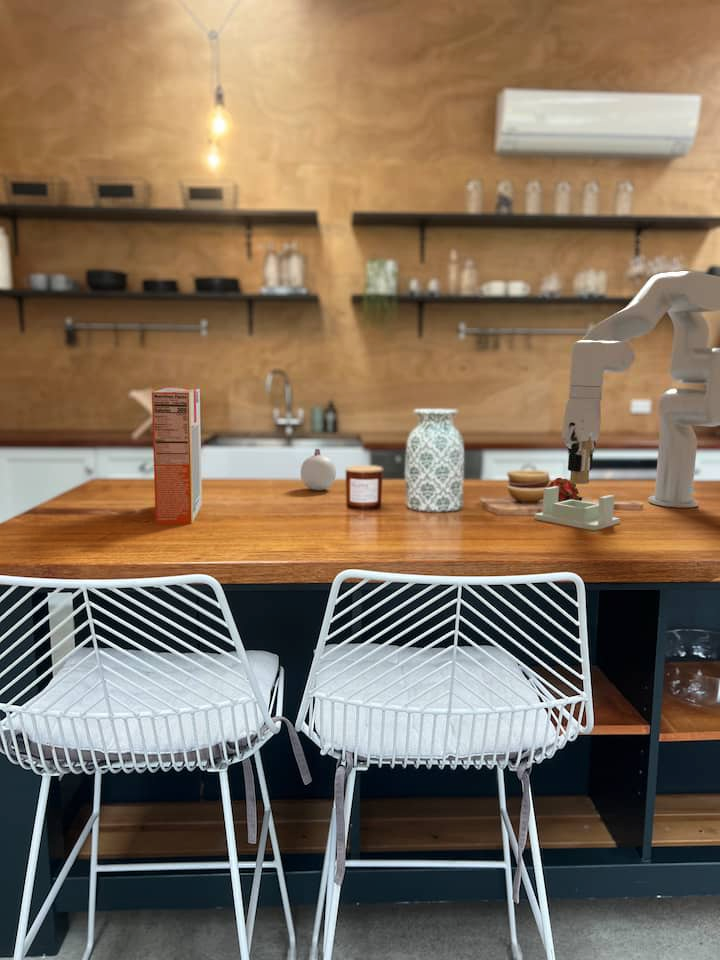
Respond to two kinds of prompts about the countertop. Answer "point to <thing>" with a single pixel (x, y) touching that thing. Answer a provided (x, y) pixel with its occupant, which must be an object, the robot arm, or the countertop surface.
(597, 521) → the caddy
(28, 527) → the countertop surface
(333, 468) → the ornament
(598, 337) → the robot arm
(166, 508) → the orange cereal box
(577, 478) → the sprinkles bottle
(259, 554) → the countertop surface
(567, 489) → the dragon fruit
